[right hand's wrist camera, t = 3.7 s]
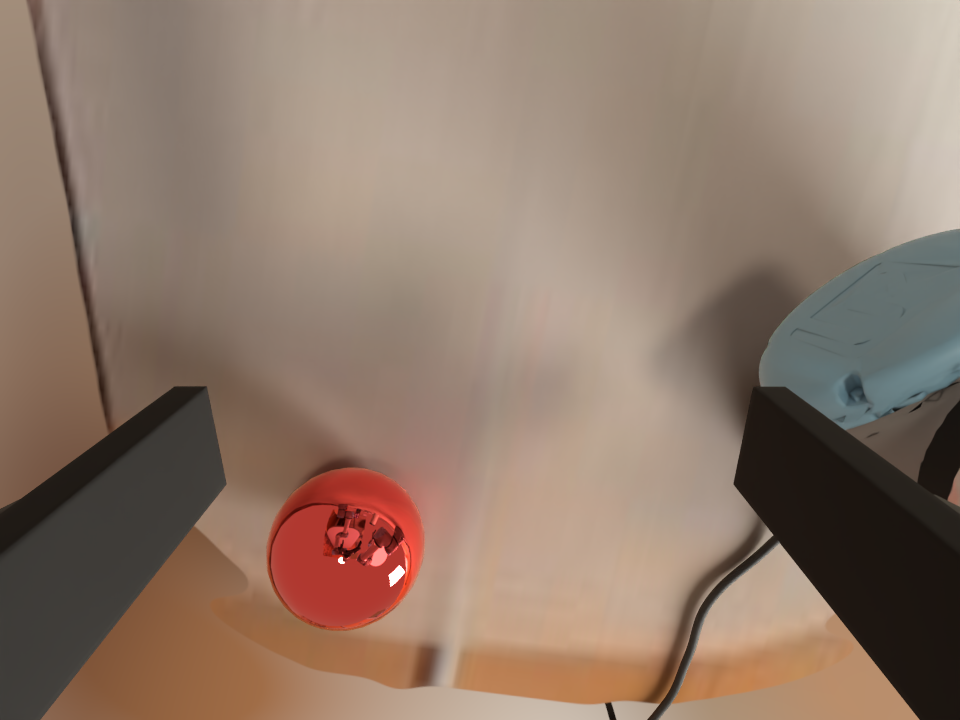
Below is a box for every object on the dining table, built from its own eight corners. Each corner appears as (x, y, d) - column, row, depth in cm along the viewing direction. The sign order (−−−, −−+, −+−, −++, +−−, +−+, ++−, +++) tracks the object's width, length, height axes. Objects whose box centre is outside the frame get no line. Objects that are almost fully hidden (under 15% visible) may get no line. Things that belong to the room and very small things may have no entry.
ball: (381, 573, 49) (352, 693, 38) (272, 508, 47) (206, 616, 36) (458, 489, 46) (451, 594, 35) (345, 414, 43) (298, 502, 32)
